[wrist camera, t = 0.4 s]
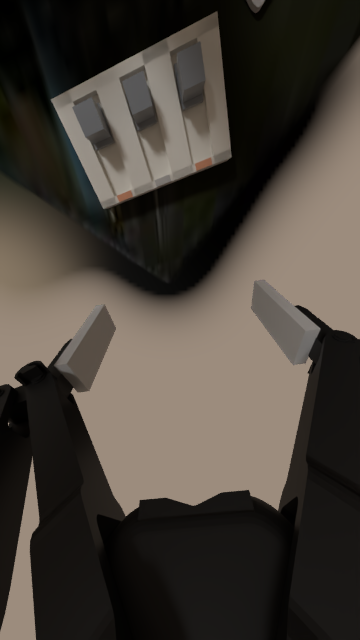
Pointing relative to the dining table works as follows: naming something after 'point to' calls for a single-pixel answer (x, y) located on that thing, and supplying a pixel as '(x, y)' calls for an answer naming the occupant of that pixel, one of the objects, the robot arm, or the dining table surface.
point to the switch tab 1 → (93, 123)
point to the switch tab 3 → (190, 76)
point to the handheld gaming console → (255, 5)
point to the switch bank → (172, 122)
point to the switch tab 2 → (139, 101)
